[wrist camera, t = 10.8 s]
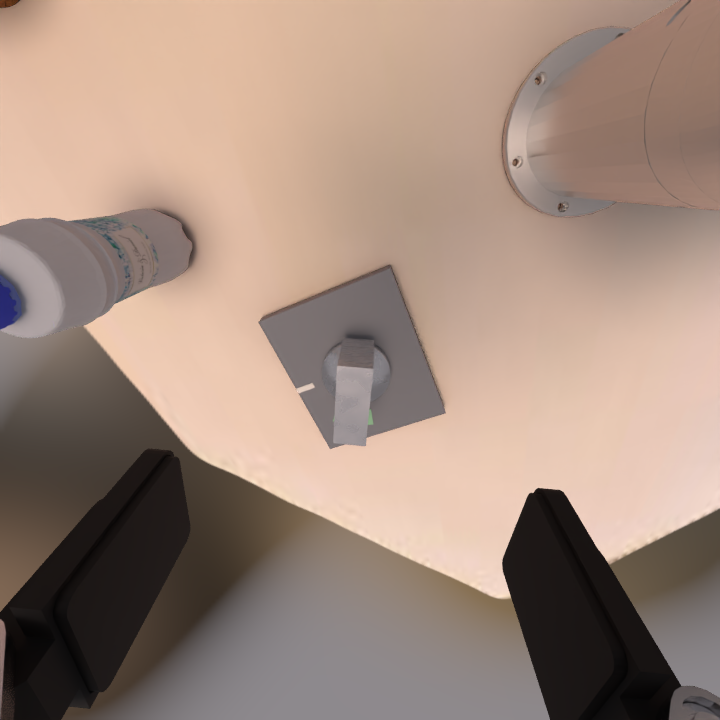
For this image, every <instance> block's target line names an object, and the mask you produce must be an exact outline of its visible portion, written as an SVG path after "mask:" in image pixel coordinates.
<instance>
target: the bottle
mask: <svg viewBox="0 0 720 720" xmlns="http://www.w3.org/2000/svg"><path fill="white" fill-rule="evenodd" d="M191 251H192V242H191V241H190V240H189V239H188V238H187V237H186V235H185V234H184V232H183V230H182V224H181V223H180V222H179V221H178V220H176V219H175V218H172V217H170V216H167V215H165V214H162V213H160V212H158V211H156V210H153V209H140V210H133V211H128V212H124V213H120V214H116V215H112V216H105V217H97V218H89V219H82V220H74V221H65V220H61V219H56V218H42V219H22V220H17V221H14V222H12V223H9V224H6V225H3V226H0V331H3V332H5V333H8V334H10V335H14V336H18V337H24V338H37V337H42V336H47V335H50V334H53V333H56V332H60V331H63V330H67V329H71V328H74V327H79V326H83V325H86V324H88V323H90V322H92V321H94V320H95V319H96V318H98V317H100V316H102V315H104V314H105V313H107V312H108V311H109V310H110V309H111V308H112V306H113V305H114V304H115V303H118V302H120V301H122V300H124V299H126V298H128V297H131V296H133V295H135V294H137V293H139V292H141V291H143V290H146V289H148V288H150V287H154V286H157V285H160V284H163V283H166V282H168V281H171V280H173V279H175V278H176V277H178V276H179V275H181V274H182V273H183V272H184V271H185V270H186V269H187V268H188V266H189V257H190V253H191Z"/></svg>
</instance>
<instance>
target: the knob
mask: <svg viewBox="0 0 720 720" xmlns="http://www.w3.org/2000/svg"><path fill="white" fill-rule="evenodd" d="M390 375H391V374H390V364H389V361H388V358H387V357H386V355H385V354H384V352H383V351H382V350H381V349H380V348H379V347H377V346H376V345H374V340H365V339H353V338H343V341H342V342H341V343H339V344H337V345H336V346H334V347H333V348H332V349H331V350H330V351H329V352H328V354H327V355H326V357H325V360H324V363H323V367H322V380H323V383H324V385H325V387H326V389H327V390H328V391H329V393H330V394H331V395H333V396H334V397H335V415H334V435H333V443H336V444H348V445H359V446H366V438H367V428H368V418H369V408H370V402H372V401H374V400H376V399H377V398H379V397H380V396H381V395H382V394H383V393H384V392H385V390H386V389H387V387H388V385H389V382H390Z"/></svg>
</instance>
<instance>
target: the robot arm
mask: <svg viewBox="0 0 720 720" xmlns="http://www.w3.org/2000/svg"><path fill="white" fill-rule="evenodd" d="M535 78H539V84H538V85H536V83H535ZM514 159H516V160H517V164H516V165H515V166H513V165H512V161H513V160H514ZM503 160H504V166H505V171H506V174H507V176H508V179H509V181H510V184H511V186H512V187H513V189H514V190H515V192H516V193H517V195H518V196H519V197H520V198H521V199H522V200H523V201H524V202H525V203H526V204H527V205H529V206H531V207H532V208H534V209H536V210H538V211H539V212H543V213H546V214H549V215H553V216H558V217H579V216H584V215H589V214H593V213H595V212H598V211H600V210H603V209H605V208H608V207H609V206H611V205H613V204H614V203H616V202H627V203H638V204H650V205H661V206H672V207H684V208H695V209H706V210H720V0H680V1H678V2H677V3H675V4H673V5H672V6H670V7H668V8H667V9H665V10H663V11H662V12H660V13H658V14H657V15H655V16H653V17H652V18H650V19H648V20H647V21H645V22H643V23H642V24H640V25H638V26H637V27H635V28H633V29H630V28H625V27H613V26H610V27H604V28H597V29H592V30H590V31H587V32H584V33H582V34H579V35H577V36H575V37H573V38H571V39H570V40H568V41H566V42H565V43H563V44H561V45H560V46H558V47H557V48H556V49H554V50H553V51H552V52H551V53H549V54H548V55H547V56H546V57H545V58H544V59H543V60H542V61H541V62H540V63H539V64H538V65H537V66H536V67H535V68H534V69H533V70H532V71H531V73H530V74H529V75H528V77H527V78H526V79H525V81H524V82H523V84H522V85H521V86H520V88H519V90H518V92H517V94H516V96H515V98H514V100H513V102H512V104H511V107H510V110H509V113H508V116H507V119H506V123H505V128H504V134H503ZM559 203H561V207H560V208H559V209H558V205H559ZM189 533H190V521H189V515H188V509H187V503H186V497H185V491H184V485H183V479H182V472H181V466H180V461H179V458H178V457H174V454H173V452H172V451H168V450H159V449H147V450H145V451H144V452H143V453H142V454H141V456H140V457H139V458H138V459H137V460H136V461H135V463H134V464H133V465H132V466H131V467H130V468H129V470H128V471H127V472H126V473H125V474H124V475H123V476H122V477H121V479H120V480H119V481H118V482H117V483H116V484H115V486H114V487H113V488H112V489H111V490H110V491H109V492H108V494H107V495H106V496H105V497H104V498H103V499H101V500H99V501H98V502H97V503H96V504H95V505H94V506H93V507H92V508H91V509H90V510H89V512H88V513H87V514H86V515H85V516H84V517H83V518H82V520H81V521H80V522H79V523H78V524H77V525H76V527H75V528H74V529H73V530H72V531H71V532H70V533H69V534H68V536H67V537H66V538H65V539H64V540H63V541H62V542H61V544H60V545H59V546H58V547H57V548H56V549H55V550H54V551H53V553H52V554H51V555H50V556H49V557H48V558H47V559H46V561H45V562H44V563H43V564H42V565H41V566H40V567H39V569H38V570H37V571H36V572H35V573H34V574H33V575H32V577H31V578H30V579H29V580H28V581H27V582H26V583H25V585H24V586H23V587H22V588H21V589H20V590H19V591H18V593H17V594H16V595H15V596H14V597H13V598H12V599H11V601H10V602H9V603H8V604H7V605H6V606H5V607H4V608H3V610H2V611H1V612H0V720H61V719H62V717H63V715H64V714H65V712H66V710H67V709H68V707H79V708H88V709H90V708H91V705H92V704H93V702H94V700H95V698H96V697H97V695H98V693H99V692H104V691H105V690H106V689H107V688H108V687H109V685H110V684H111V682H112V681H113V679H114V677H115V675H116V673H117V671H118V669H119V668H120V666H121V664H122V662H123V660H124V658H125V656H126V654H127V653H128V651H129V649H130V647H131V645H132V643H133V641H134V639H135V638H136V636H137V634H138V632H139V630H140V628H141V626H142V624H143V623H144V621H145V619H146V617H147V615H148V613H149V611H150V609H151V607H152V605H153V604H154V602H155V600H156V598H157V596H158V594H159V592H160V590H161V589H162V587H163V585H164V583H165V581H166V579H167V577H168V576H169V574H170V571H171V570H172V568H173V566H174V564H175V562H176V560H177V559H178V557H179V555H180V553H181V551H182V549H183V547H184V545H185V544H186V542H187V539H188V536H189ZM502 566H503V573H504V576H505V579H506V582H507V585H508V589H509V592H510V595H511V598H512V601H513V604H514V607H515V611H516V614H517V617H518V620H519V623H520V626H521V629H522V632H523V636H524V639H525V642H526V645H527V648H528V651H529V654H530V658H531V661H532V664H533V667H534V670H535V673H536V676H537V680H538V682H539V686H540V688H541V692H542V695H543V698H544V702H545V705H546V708H547V711H548V714H549V717H550V720H720V698H719V697H717V696H715V695H714V694H712V693H710V692H709V691H707V690H704V689H701V688H698V687H695V686H681V685H680V683H679V681H678V680H677V678H676V676H675V675H674V673H673V671H672V670H671V668H670V666H669V665H668V663H667V661H666V660H665V658H664V656H663V655H662V653H661V651H660V650H659V648H658V646H657V645H656V643H655V641H654V640H653V638H652V636H651V635H650V633H649V631H648V630H647V628H646V626H645V625H644V623H643V621H642V620H641V618H640V616H639V615H638V613H637V611H636V610H635V608H634V606H633V604H632V603H631V601H630V600H629V598H628V596H627V595H626V593H625V591H624V590H623V588H622V586H621V585H620V583H619V581H618V579H617V578H616V576H615V575H614V573H613V571H612V569H611V568H610V566H609V564H608V563H607V561H606V559H605V558H604V556H603V555H602V554H601V552H600V551H599V550H598V549H597V547H596V545H595V544H594V542H593V540H592V539H591V537H590V535H589V534H588V532H587V530H586V529H585V527H584V525H583V524H582V522H581V520H580V519H579V517H578V515H577V513H576V512H575V510H574V508H573V507H572V505H571V503H570V502H569V500H568V498H567V497H566V495H565V494H564V492H562V491H561V490H553V489H543V488H537V489H536V490H535V492H534V493H530V494H529V495H528V497H527V499H526V502H525V504H524V507H523V509H522V512H521V514H520V517H519V519H518V522H517V524H516V527H515V529H514V532H513V534H512V537H511V539H510V542H509V544H508V547H507V549H506V552H505V554H504V557H503V562H502Z"/></svg>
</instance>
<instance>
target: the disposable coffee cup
mask: <svg viewBox="0 0 720 720" xmlns="http://www.w3.org/2000/svg"><path fill="white" fill-rule="evenodd" d="M18 1H19V0H0V8H2V7H9V6H12V5H14V4H16V3H17V2H18Z"/></svg>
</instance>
